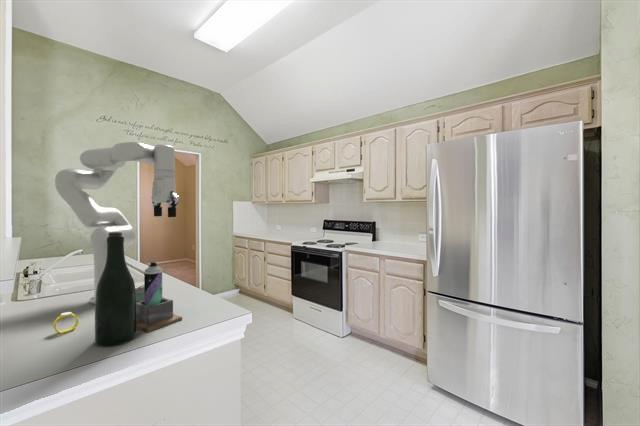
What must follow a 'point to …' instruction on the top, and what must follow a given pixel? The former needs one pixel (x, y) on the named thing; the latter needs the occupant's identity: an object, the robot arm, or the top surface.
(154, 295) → the spray can
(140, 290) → the food container
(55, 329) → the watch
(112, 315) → the beer bottle
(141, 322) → the can holder
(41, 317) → the top surface
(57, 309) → the top surface
